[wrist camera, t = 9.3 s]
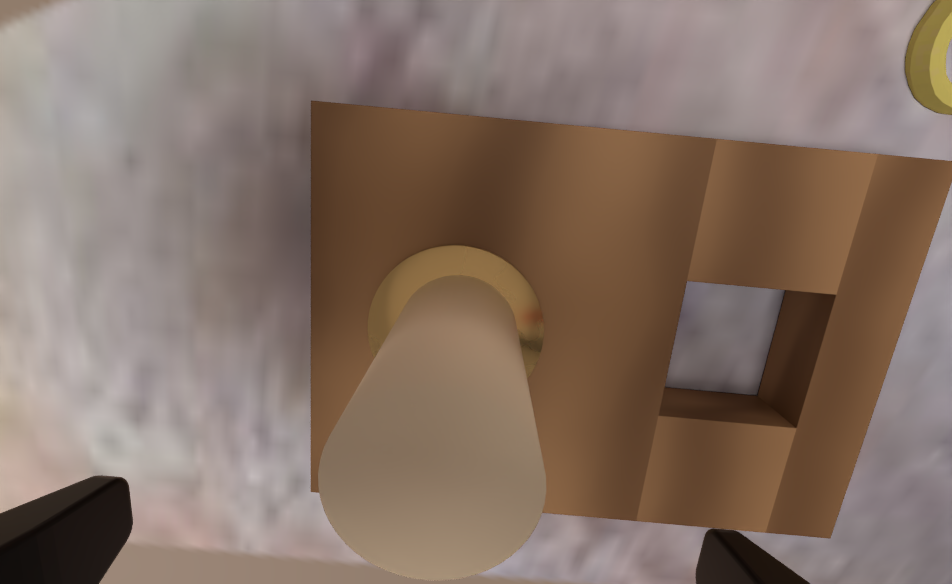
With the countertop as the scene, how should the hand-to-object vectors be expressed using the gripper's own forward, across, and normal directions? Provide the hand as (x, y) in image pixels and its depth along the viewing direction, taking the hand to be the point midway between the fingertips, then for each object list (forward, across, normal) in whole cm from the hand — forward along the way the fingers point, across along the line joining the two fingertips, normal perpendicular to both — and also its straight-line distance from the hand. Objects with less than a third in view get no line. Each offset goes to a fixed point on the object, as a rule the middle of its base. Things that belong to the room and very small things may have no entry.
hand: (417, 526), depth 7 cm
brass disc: (+9, 0, 0) cm, 9 cm away
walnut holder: (+12, -5, 0) cm, 13 cm away
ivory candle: (+9, 0, 0) cm, 9 cm away
